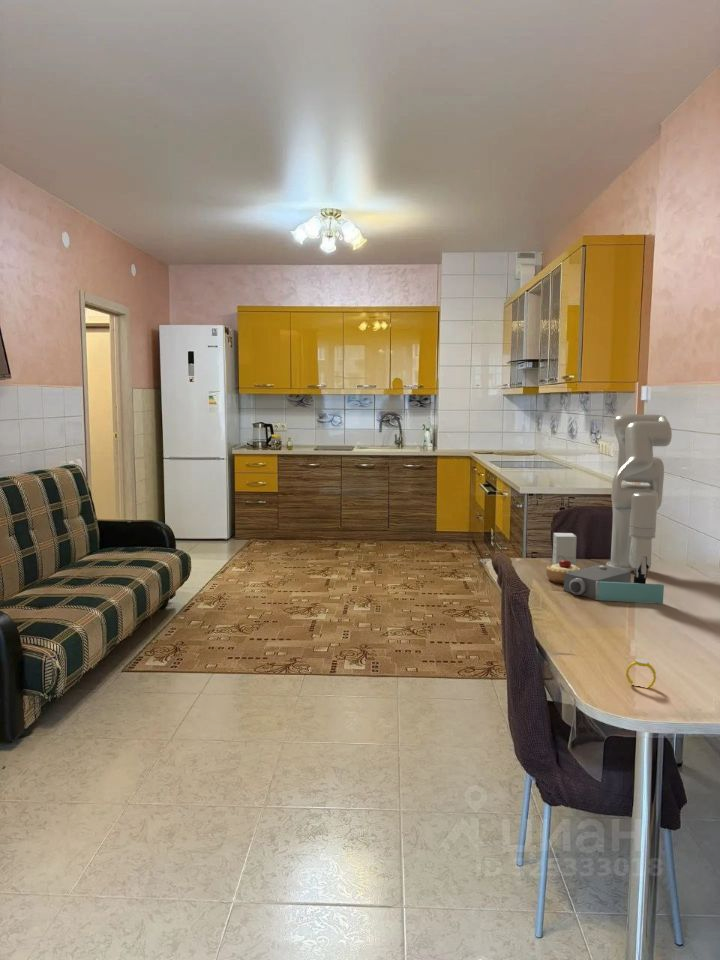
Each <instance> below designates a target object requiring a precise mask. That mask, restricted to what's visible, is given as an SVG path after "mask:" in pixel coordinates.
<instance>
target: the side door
mask: <svg viewBox="0 0 720 960" xmlns="http://www.w3.org/2000/svg"><path fill="white" fill-rule="evenodd" d="M664 589H665V585H664V584H662V583H646V584H644V583H634V582H630V583H623V582H602V581H596V592H595V599H594V600H595V601H606V602H607V601H609V602H624V603H627V602H628V603H629V602H631V603H645V604H646V603H647V604H663V603H664V592H665V590H664Z"/></svg>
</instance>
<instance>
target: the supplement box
mask: <svg viewBox="0 0 720 960" xmlns="http://www.w3.org/2000/svg"><path fill="white" fill-rule="evenodd" d="M552 536H553V538H552V539H553V541H552V544H553V545H552V565H553V564H558V563H559V562H560V561H561V560H569V561H570V562H571V565H575V566H577V565H576V561H577V539H578V537H577V535H576V534H574V533H572V532H553V535H552ZM558 556H560V557H559V558H558ZM561 556H562V557H561ZM563 557H564V558H565V559H564V558H563ZM557 558H558V559H557Z"/></svg>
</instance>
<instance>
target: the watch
mask: <svg viewBox="0 0 720 960" xmlns="http://www.w3.org/2000/svg"><path fill="white" fill-rule="evenodd" d="M636 665H637V666H640V667H647V668H648V669H649V670H650V671H651V672H652V674H653V675H652V676H653V679H652V681H651V682H650V683H648V684H647V685H648V686H649V688H651V687H653V686H654V683H656V680H657V675H656V674H657V673H656V670H655V669H654V667H653V665H651V664H650V661H648V660H647V659H643V658H636V659H635V660H634V661H633V662H630V663H629V665H628V666H627V668H626V672H625V673H626V674H625V677H626V679H627V681H628V683H629V684H630V683H633V682H634V681H633V680H632V679H631V677H630V675H629V672H630V671H629V670H630V669H631V668H632V667H633V666H636Z"/></svg>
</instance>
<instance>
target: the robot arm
mask: <svg viewBox="0 0 720 960" xmlns="http://www.w3.org/2000/svg"><path fill="white" fill-rule="evenodd" d="M613 431H614V433H615V436H616V439H617V443H618V454H617V456H618V457H617V458H618V459H617V471H616V472H615V474H614V476H613V478H612V482H611V483H612V486H611V488H612V489H611V495H610V496H611V506H612V530H611V544H610V545H611V546H610V549H611V550H610V560H609V561H607V562H606V564H605V566H608V567H613V568H617V569H622V570H627V571H631V572H634V573H633V574H634V576H633V583H644V584H647V583H646V581H647V578H646V577H647V571H649V570H650V569H651V565H652V546H653V545H652V543H653V541H652V539H654V540H655V538H656V529H657V511H658V510H660V508H661V506H662V502H663V491H664V482H665V481H664V480H665V466H664V465H665V464H664V462H663V460H662V459H661V458H659V457H655V456H654V451H653V450H654V449H653V447H668V446H669V445H670V444H671V441H672V437H673V435H672V432H673V431H672V427H671V424H670V422H669V421H668V418H667V417H666V416H665V415H663V414H638V413H637V414H633V413H632V414H631V413H627V414H625V413H624V414H619V415H617V416H616V417H615V418H614V420H613ZM622 482H626V483H627V484H626V483H625V484H622ZM630 483H633V484H630ZM634 483H643V484H634ZM644 483H645V484H644ZM648 484H649V485H648Z"/></svg>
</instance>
